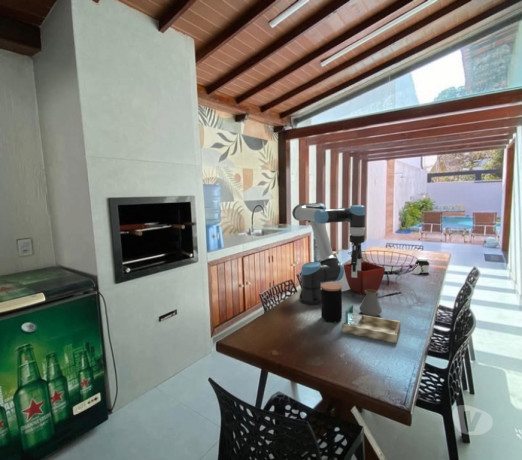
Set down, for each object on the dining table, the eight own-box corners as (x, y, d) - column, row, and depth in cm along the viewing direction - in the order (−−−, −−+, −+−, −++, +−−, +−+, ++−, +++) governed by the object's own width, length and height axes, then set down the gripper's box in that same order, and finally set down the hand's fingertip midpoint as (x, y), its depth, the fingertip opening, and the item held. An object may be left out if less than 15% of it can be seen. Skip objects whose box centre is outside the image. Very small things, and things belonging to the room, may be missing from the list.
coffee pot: (356, 315, 162) (357, 288, 160) (362, 308, 171) (363, 283, 169) (399, 324, 150) (400, 295, 148) (403, 316, 159) (404, 289, 157)
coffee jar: (327, 313, 167) (326, 281, 164) (345, 317, 160) (345, 285, 157) (317, 319, 158) (317, 287, 156) (336, 325, 152) (336, 290, 149)
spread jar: (429, 272, 236) (430, 257, 235) (428, 276, 227) (429, 261, 225) (412, 270, 243) (413, 256, 241) (411, 274, 233) (411, 259, 232)
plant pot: (385, 292, 195) (386, 267, 192) (361, 297, 188) (362, 271, 186) (365, 284, 212) (365, 261, 210) (342, 288, 205) (342, 264, 203)
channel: (342, 332, 144) (342, 324, 143) (349, 320, 157) (349, 312, 156) (396, 343, 132) (396, 335, 131) (400, 329, 145) (400, 321, 144)
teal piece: (343, 329, 145) (343, 311, 143) (350, 319, 155) (350, 302, 154) (356, 332, 142) (356, 314, 140) (362, 321, 152) (362, 304, 151)
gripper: (360, 239, 145) (360, 281, 148) (367, 231, 167) (366, 268, 171) (345, 238, 149) (344, 279, 152) (353, 230, 171) (353, 267, 174)
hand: (356, 273), depth 161 cm, fingers open, 13 cm apart
